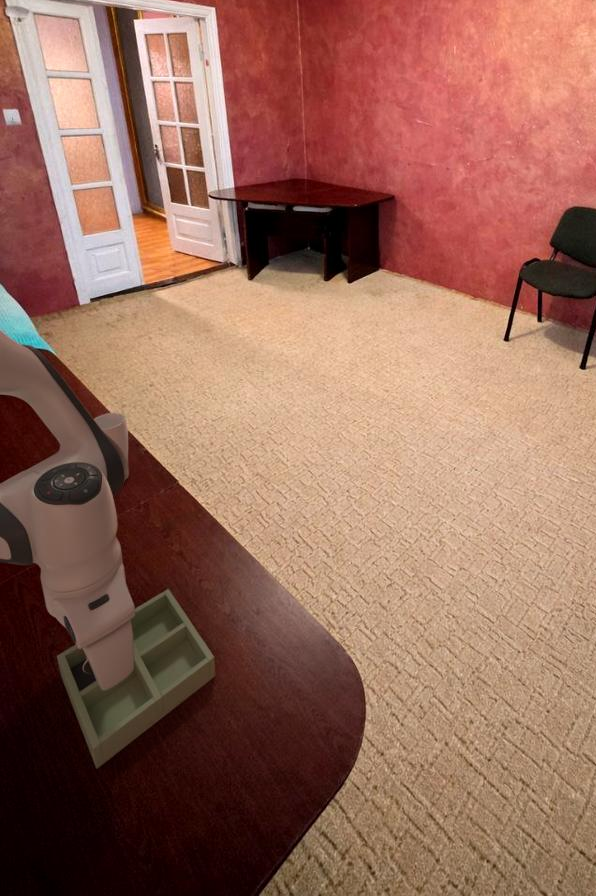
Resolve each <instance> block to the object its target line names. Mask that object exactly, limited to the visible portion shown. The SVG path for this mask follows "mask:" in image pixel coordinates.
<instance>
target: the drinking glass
mask: <svg viewBox="0 0 596 896" xmlns="http://www.w3.org/2000/svg"><path fill="white" fill-rule="evenodd" d="M93 419H94V420H95V422H96V423H97V424H98V425H99V427H100V428H101V429H102V430H103V431H104V432H105V433H106V434H107V435H108V436H109V437H110V438H111V439H112V440H113V441H114V442H115V443H116V444H117V445H118V446H119V447H120V448H121V449H122V451H123V452H124V454H125V456H126V458H127V461H128V462H129V430H128V429H129V428H128V423H127V416H125V414H124V413H121V412H108V413H104V414H101V415H98V416H96V417H94V418H93ZM129 476H130V469H129V468H128V470H127V475H126V479H127V480H128V479H129ZM126 479H125V480H126ZM127 480H126V481H127Z"/></svg>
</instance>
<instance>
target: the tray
mask: <svg viewBox="0 0 596 896" xmlns="http://www.w3.org/2000/svg"><path fill="white" fill-rule="evenodd" d="M130 621H131V625H132V630H133V641H134V669H133V671H132V672H131V674H130V675H129V676H127V677H126V678H125V679H124V680H122V681H121V682H119V683H118V684H116V685H115V686H113V687H112V688H110V689H108V690H105V691H103V690H101V689H100V687H99V685H98V683H97V680H96V678H95V675H94V673H91V674H89V673H85V672H84V671H83V664H84V663H85V661H86V660H87V656H86V654H85V652H84V650H83V648H82V649H79V648H77V646H76V644H74V645H73V646H71V647H69V648H67V649H66V650H64V651H62V652H61V653H59V654H57V655H56V659H57V664H58V668H59V674H60V677H61V680H62V682H63V685H64V687H65V690H66V693H67V696H68V698H69V701H70V703H71V706H72V709H73V711H74V713H75V716H76V719H77V722H78V725H79V726H80V730H81V732H82V734H83V738H84V739H85V742H86V745H87V749H88V751H89V753H90V756H91V757H92V761H93V763H94V766H95V769H99V768H100V767H101V766H103V765H104V764H106V763H107V762H108V761H109V760H111V758H113V757H114V756H116V754H118V753H119V752H120V751H122V750H123V749H124V748H125V747H127V746H128V745H129V744H131V743H132V742H133V741H135V740H136V739H137V738H138V737H139V736H140V735H143V734H144V733H145V732H146V731H147V730H149V729H150V728H151V727H153V726H154V725H155V724H156V723H158V722H159V721H160V720H161V719H163V718H164V717H165V716H166V715H168V714H169V713H171V711H173V710H174V709H175V708H177V707H178V706H179V705H181V704H182V703H183V702H184V701H185V700H187V699H188V698H190V696H193V694H195V693H196V692H197V691H198V690H199V689H201V688H202V687H203V686H205V685H206V684H207V683H208V682H210V681H211V680H212V679H214V678H215V677H216V676H217V675H216V660H215V656H214V654H213V653H212V651H211V650H210V649H209V647H208V645H207V644H206V642H205V641H204V640H203V638H202V637H201V635H200V633H199V632H198V630H197V629H196V628H195V626H194V624H193V623H192V622H191V620H190V619H189V617H188V616H187V614H186V612H185V611H184V610H183V608H182V606H181V605H180V604H179V602H178V601H177V599H176V598H175V596H174V595H173V593H172V591H171V590H170V589H169V588H167V589H166V590H164V591H162V592H161V593H159V594H157V595H156V596H154V597H152V598H150V599H149V600H147V601H146V602H144V603H142V604H141V605H139V606H137V607H135V616H134V617H133V618H131V619H130Z"/></svg>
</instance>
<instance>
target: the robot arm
mask: <svg viewBox="0 0 596 896" xmlns="http://www.w3.org/2000/svg"><path fill="white" fill-rule="evenodd" d="M0 395H4V396H11V397H14V398H15V397H16V398H18V399H20V400H23V401H24V402H26V403H27V404H28V405H29V406H30V407H31V408H32V410H34V412H35V413H36V414H37V416H38V417H39V418H40V420H41V421H42V422H43V423H44V425H45V426H46V427H47V428H48V430H49V432H51V434H52V435H53V437H55V439H56V440H57V442H58V444H59V450H58V451H57V452H55V453H54V454H53V455H51V456H49V457H47V458H45V459H44V460H42V461H40V462H38V463H36V464H35V465H33V466H31V467H29V468H27V469H26V470H22V471H21V472H19V473H17V474H15V475H13V476H11V477H10V478H8V479H6V480H5V481H3V482H1V483H0V563H2V564H10V565H11V564H12V565H17V566H18V565H19V566H31V565H33V564H36V565H37V566H38V567H39V568H40V583H41V588H42V593H43V598H44V603H45V608H46V611H47V613H49V615H50V616H52V617H53V618H55V619H56V620H57V622H59V623H60V624H61V625H62V626H63V627H64V628H65V629H66V631H67V632H68V634H69V636H70V638H71V639H72V641H73V643H74V644H75V645H76V646H77V648H79V649H82V648H83V650H84V652H85V654H86V656H87V658H88V661H89V663H90V665H91V668H92V670H93V673H94V675H95V678H96V680H97V683H98V685H99V687H100V689H101V690H103V691H105V690H108V689H110V688H112V687H113V686H115V685H116V684H118V683H119V682H121V681H122V680H124V679H125V678H126V677H127V676H129V675H130V674H131V672H132V671H133V669H134V641H133V630H132V625H131V621H130V619H131V618H133V617H134V616H135V609H136V607H135V603H134V601H133V597H132V594H131V592H130V590H129V586H128V583H127V580H126V572H125V571H126V570H125V566H124V562H123V561H124V560H123V554H122V546H121V542H120V541H119V540H118V539H119V538H118V537H117V531H118V527H119V526H118V525H119V524H118V523H119V522H118V514H117V508H116V504H115V499H114V497H116V496H118V495H119V494H120V493H121V492H122V490H123V488H124V485H125V482H126V481H125V479H126V475H127V470H128V469H129V460H128V461H127V458H126V456H125V454H124V452H123V451H122V449H121V448H120V447H119V446H118V445H117V444H116V443H115V442H114V441H113V440H112V439H111V438H110V437H109V436H108V435H107V434H106V433H105V432H104V431H103V430H102V429H101V428H100V427H99V425H98V424H97V423H96V422H95V420H94V419H95V418H93V416H92V415H91V414H90V412H89V411H88V410H87V407H85V405H84V404H83V403H82V402H81V400H80V399H79V398H78V396H77V395H76V394H75V392H74V391H73V390H72V388H71V387H70V385H69V384H68V383H67V381H66V380H65V379H64V378H63V377H62V374H60V372H59V371H58V369H56V367H55V366H54V365H53V364H52V363H51V361H50V360H49V359H48V358H47V357H46V356H45V355H44V353H42V352H41V351H40V349H37V348H36V347H35V346H33V345H29V344H22V343H19V342H17V341H16V340H14V339H13V338H12V337H11V336H8V334H6V333H5V332H4V331H3V330H2V329H1V328H0Z"/></svg>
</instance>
